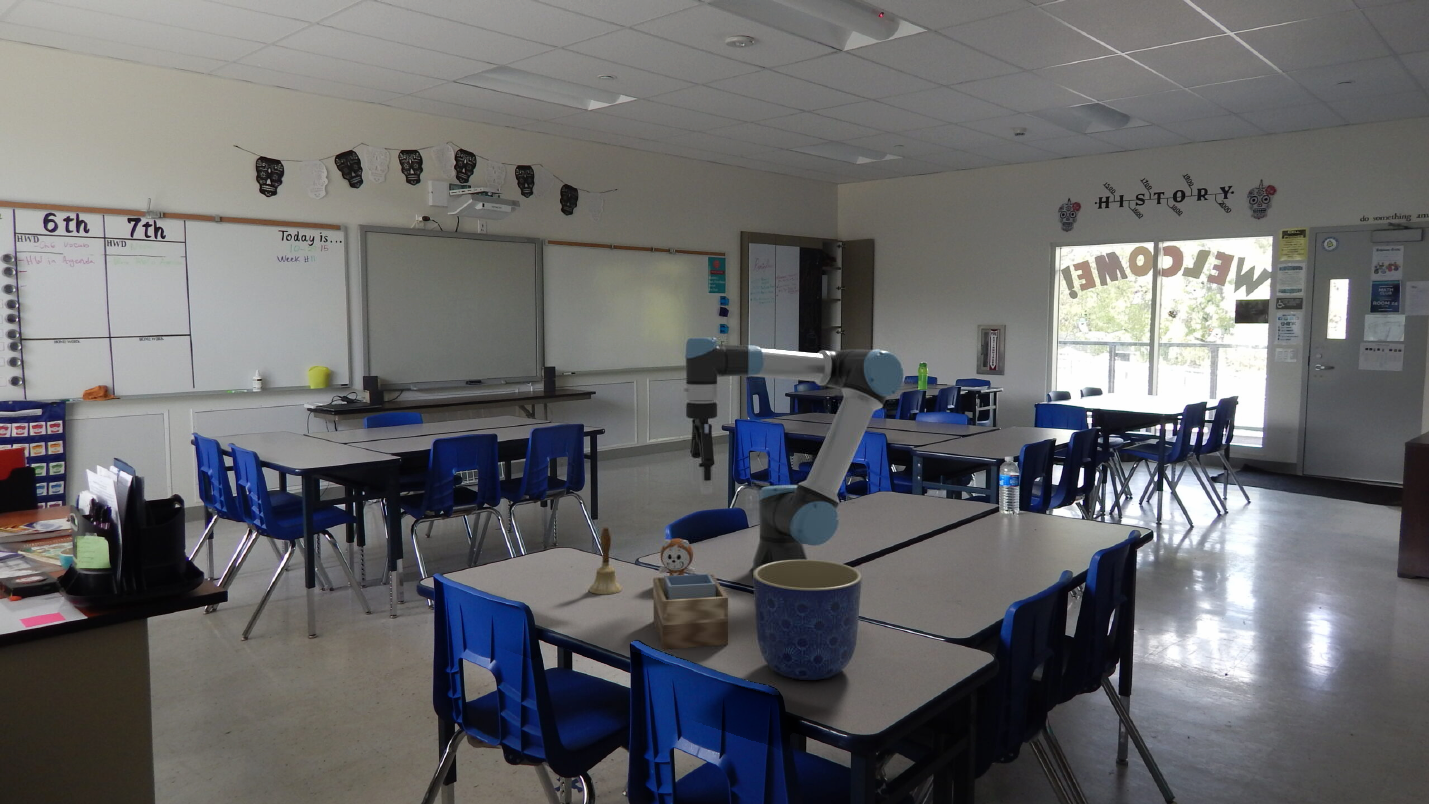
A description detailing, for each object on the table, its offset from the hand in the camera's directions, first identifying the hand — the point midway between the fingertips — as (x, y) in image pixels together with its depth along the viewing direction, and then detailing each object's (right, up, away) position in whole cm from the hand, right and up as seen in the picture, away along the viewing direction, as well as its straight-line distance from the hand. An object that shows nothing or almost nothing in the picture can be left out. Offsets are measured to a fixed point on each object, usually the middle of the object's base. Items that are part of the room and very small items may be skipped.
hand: (701, 488), depth 216 cm
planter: (+21, -31, -45) cm, 58 cm away
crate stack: (-2, -29, -23) cm, 37 cm away
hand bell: (-24, -26, +8) cm, 37 cm away
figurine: (-7, -26, +11) cm, 29 cm away
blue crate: (-2, -23, -24) cm, 33 cm away
